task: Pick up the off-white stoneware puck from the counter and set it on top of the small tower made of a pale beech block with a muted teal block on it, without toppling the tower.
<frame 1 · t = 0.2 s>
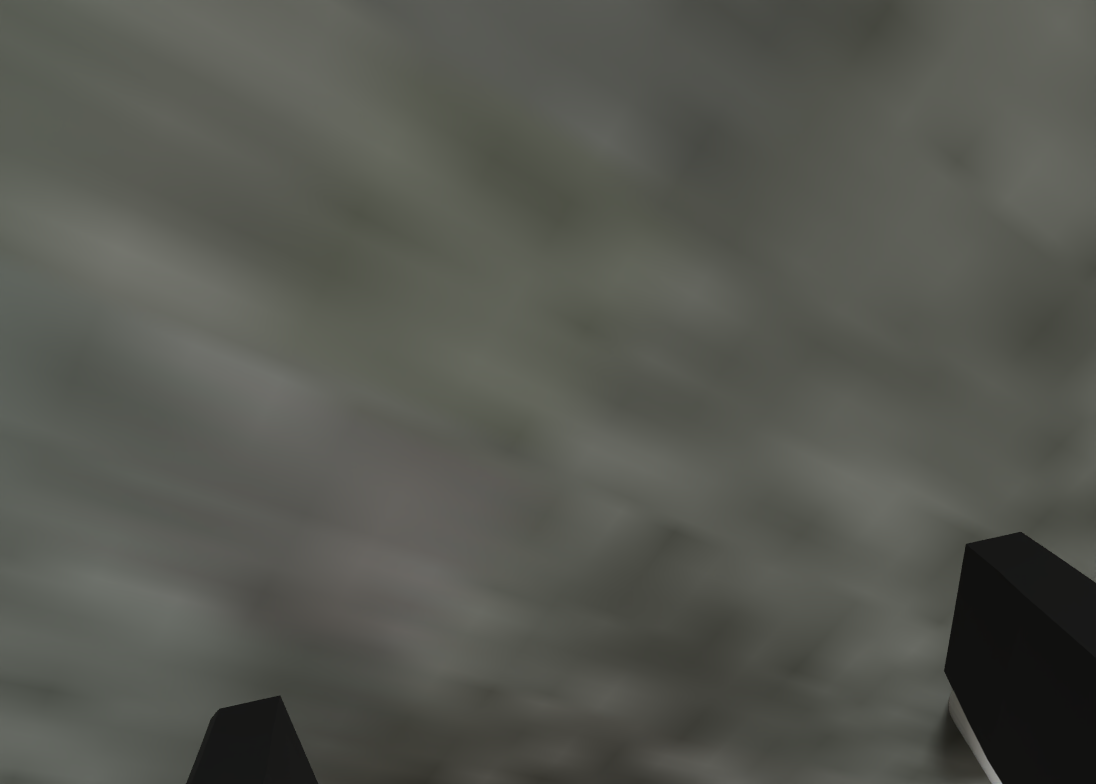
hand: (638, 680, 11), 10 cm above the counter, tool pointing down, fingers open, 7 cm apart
stoneware puck: (1018, 681, 30), on the counter
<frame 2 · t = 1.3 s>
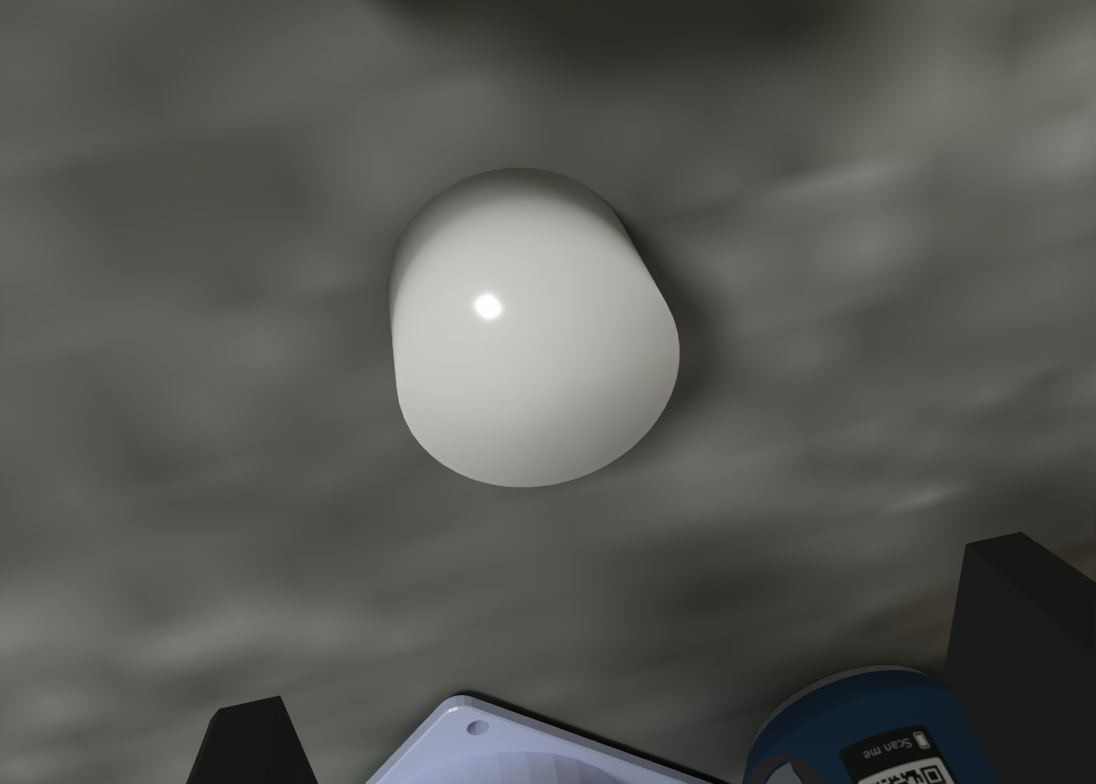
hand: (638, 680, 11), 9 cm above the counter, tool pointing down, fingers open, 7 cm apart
soda can: (843, 728, 27), on the counter
stoneware puck: (512, 284, 18), on the counter
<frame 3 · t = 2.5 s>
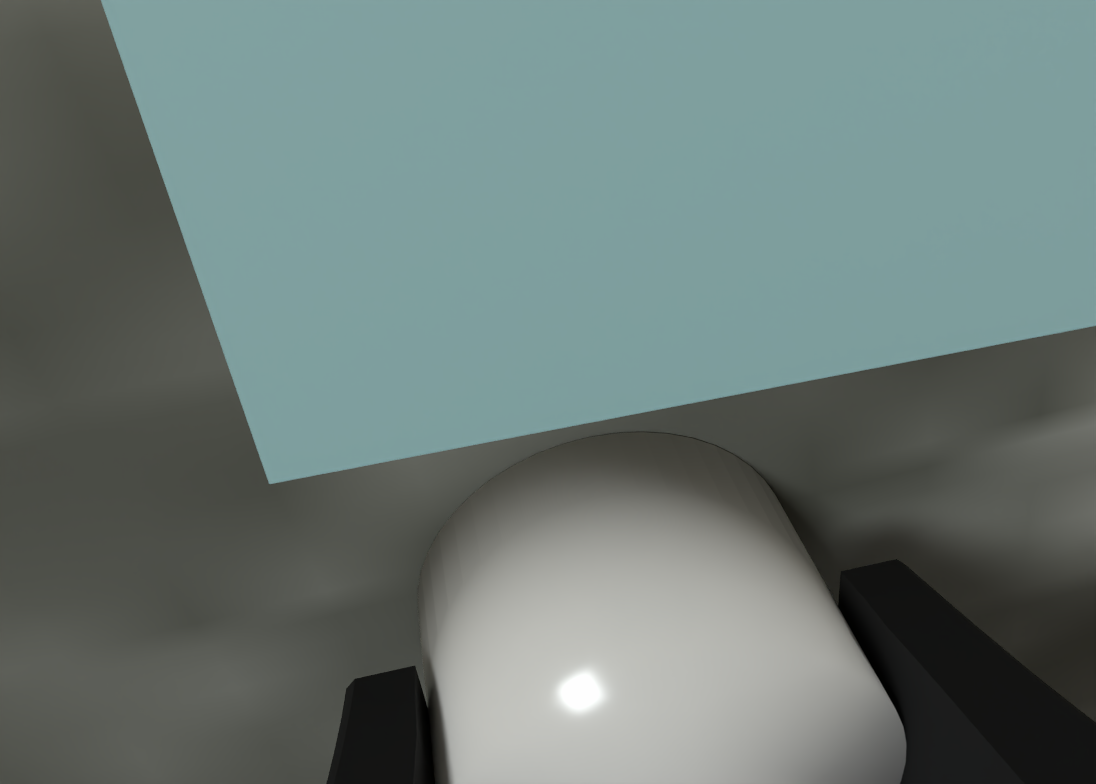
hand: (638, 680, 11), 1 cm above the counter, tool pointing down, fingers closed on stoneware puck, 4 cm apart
stoneware puck: (606, 584, 12), on the counter, touching gripper
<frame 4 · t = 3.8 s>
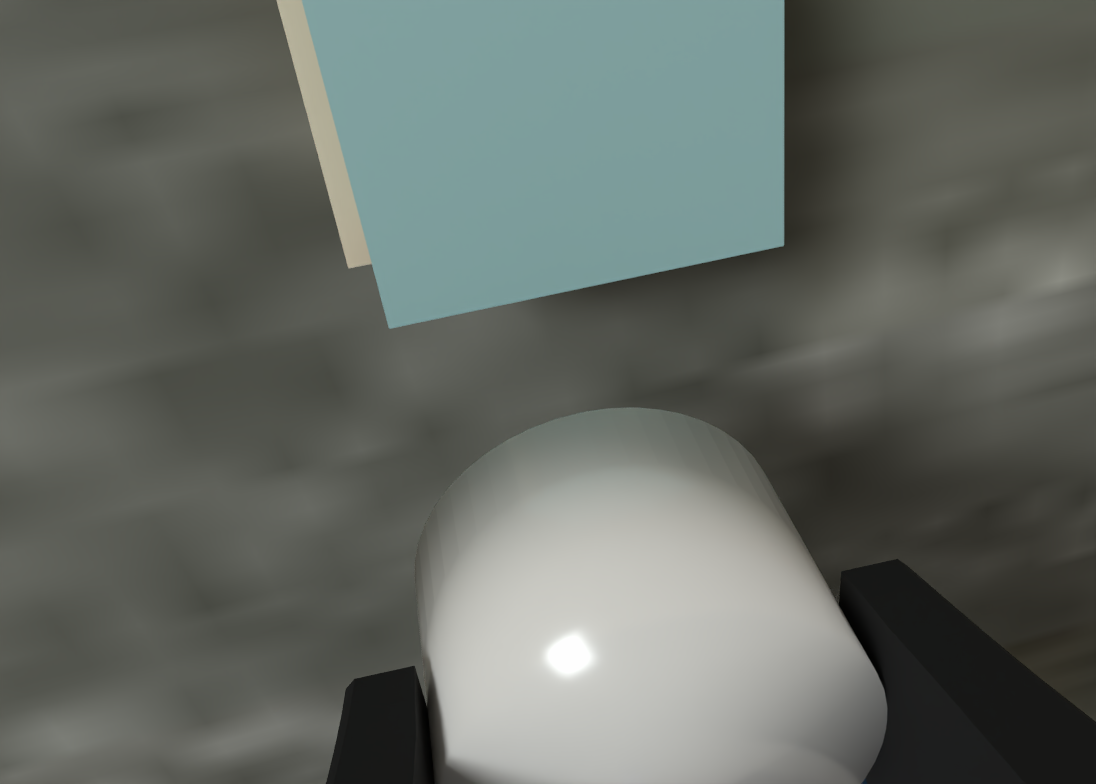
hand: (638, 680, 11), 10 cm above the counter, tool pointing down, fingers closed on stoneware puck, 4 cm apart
stoneware puck: (599, 558, 12), point 8 cm above the counter, touching gripper
teal block: (521, 18, 13), point 3 cm above the counter, touching beech block
when the fingers open (8 cm above the counter, at t = 4.9 s): stoneware puck stays where it is, resting on teal block.
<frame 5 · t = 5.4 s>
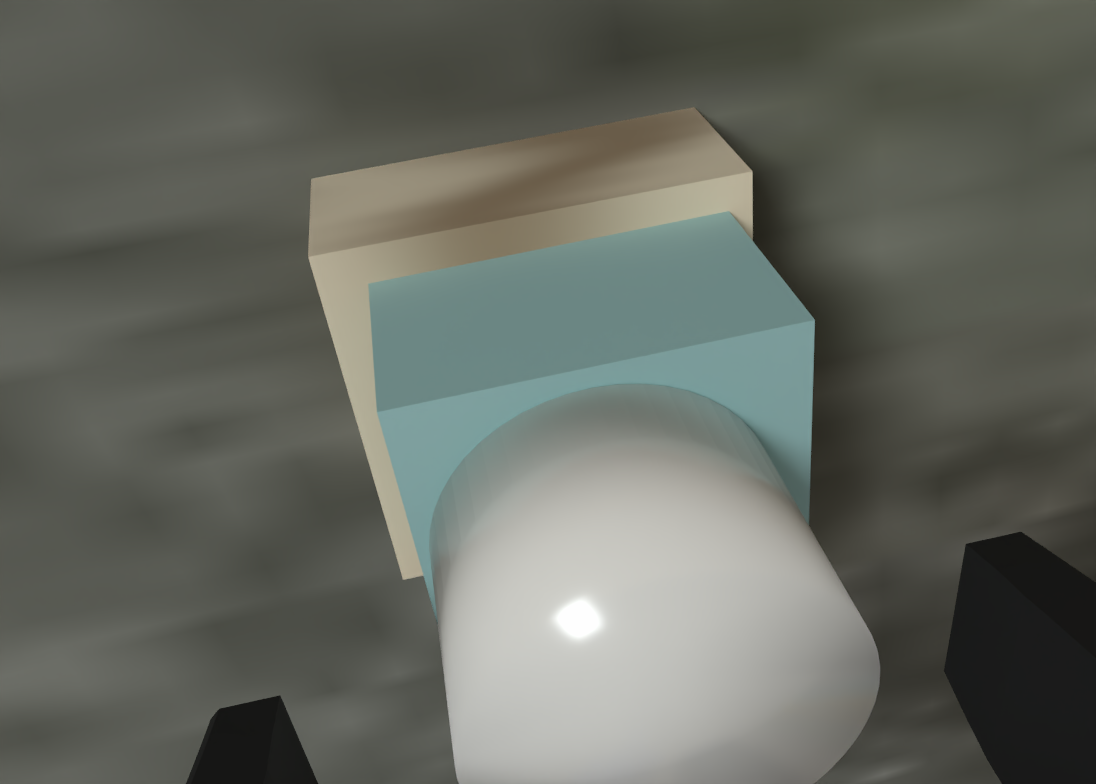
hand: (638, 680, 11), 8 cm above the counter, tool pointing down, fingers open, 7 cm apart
beech block: (528, 299, 17), on the counter, touching teal block
stoneware puck: (605, 529, 13), point 6 cm above the counter, touching teal block
teal block: (572, 395, 15), point 3 cm above the counter, touching beech block, stoneware puck
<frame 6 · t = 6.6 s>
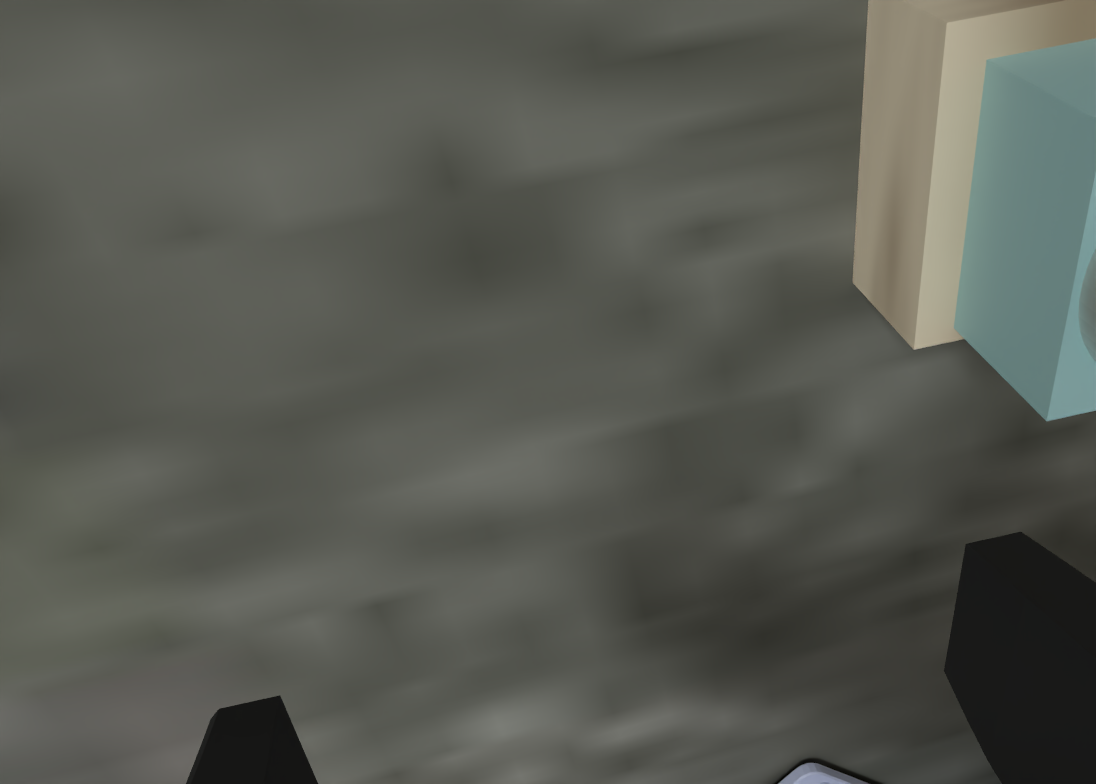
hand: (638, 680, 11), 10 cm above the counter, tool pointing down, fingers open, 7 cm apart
beech block: (999, 112, 20), on the counter, touching teal block
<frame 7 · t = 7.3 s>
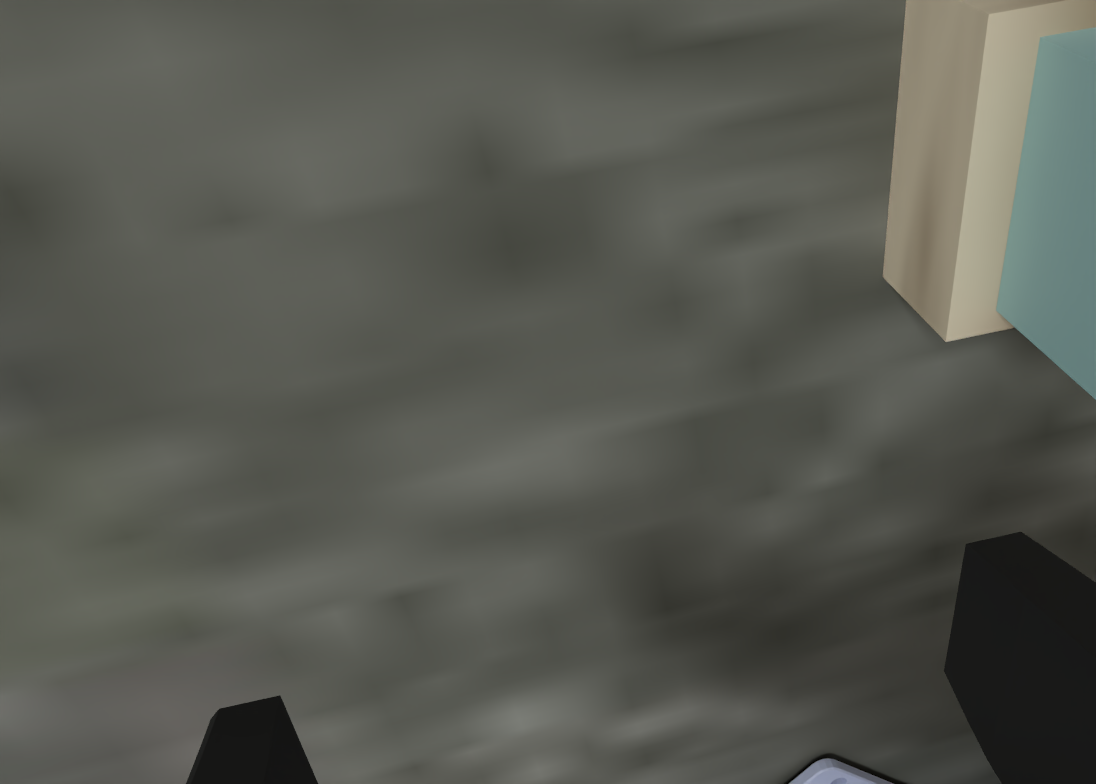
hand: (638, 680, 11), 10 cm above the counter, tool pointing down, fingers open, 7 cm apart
beech block: (1030, 106, 20), on the counter, touching teal block
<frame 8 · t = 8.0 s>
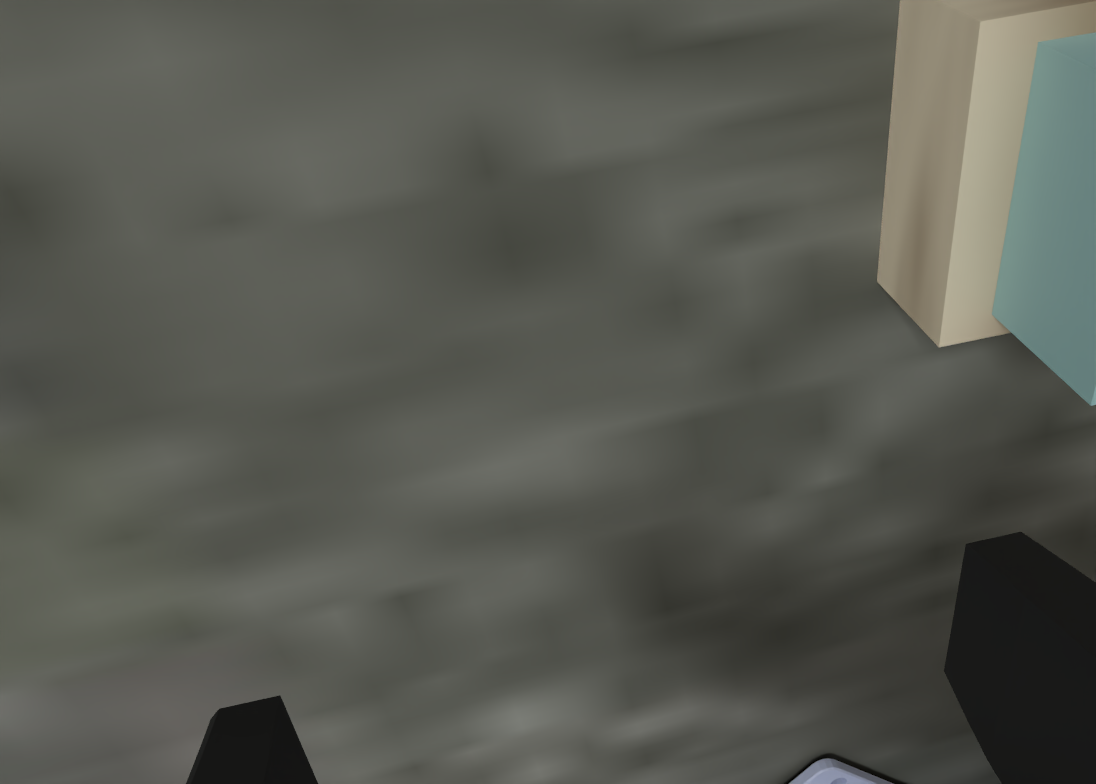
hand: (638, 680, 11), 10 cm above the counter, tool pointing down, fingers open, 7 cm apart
beech block: (1025, 112, 20), on the counter
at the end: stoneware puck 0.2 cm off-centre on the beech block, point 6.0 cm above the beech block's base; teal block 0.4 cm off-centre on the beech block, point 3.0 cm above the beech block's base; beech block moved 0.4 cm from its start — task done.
